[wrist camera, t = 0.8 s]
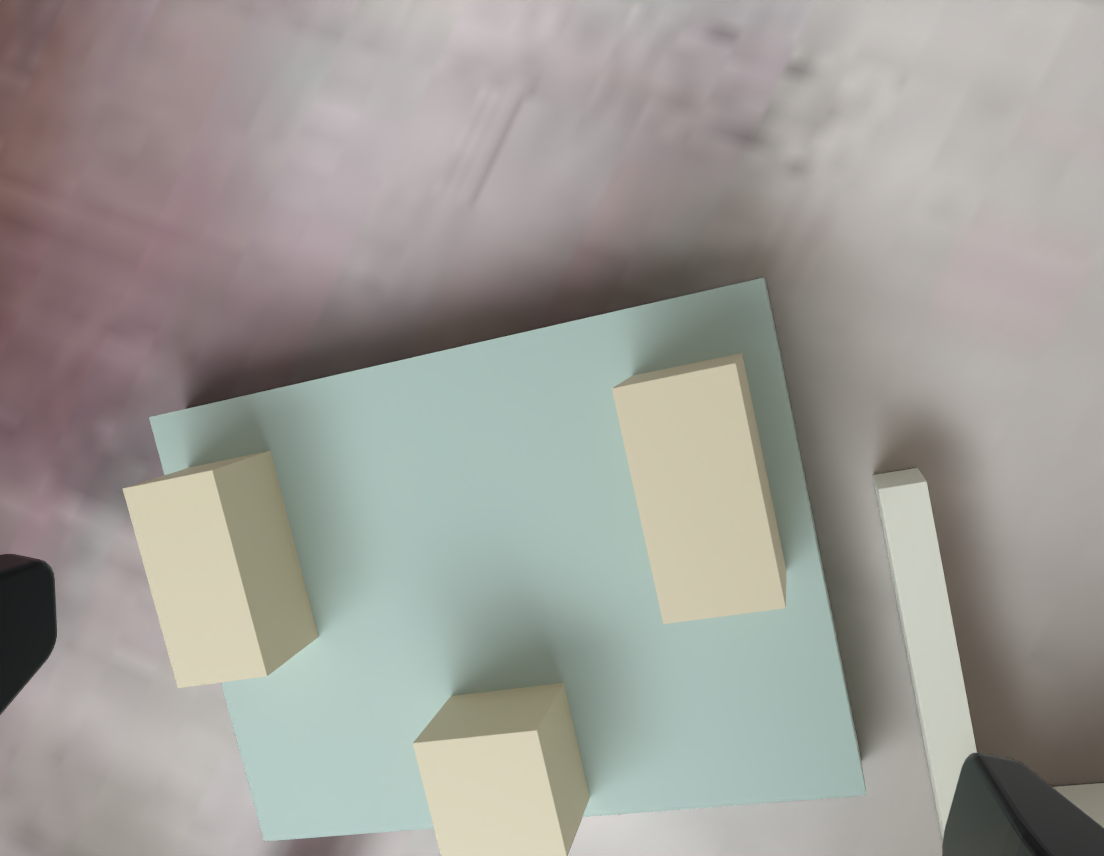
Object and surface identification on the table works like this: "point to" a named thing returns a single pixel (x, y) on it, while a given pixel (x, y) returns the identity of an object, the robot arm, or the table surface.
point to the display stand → (510, 583)
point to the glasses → (937, 640)
